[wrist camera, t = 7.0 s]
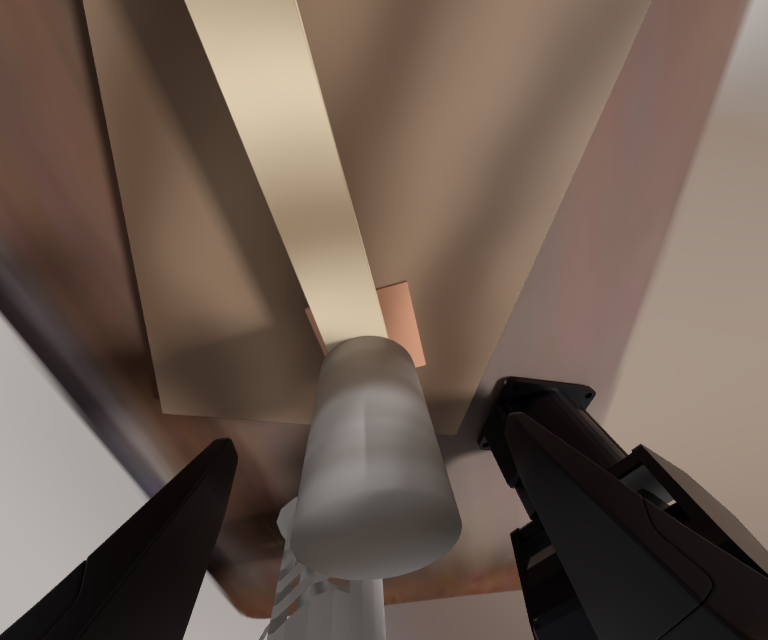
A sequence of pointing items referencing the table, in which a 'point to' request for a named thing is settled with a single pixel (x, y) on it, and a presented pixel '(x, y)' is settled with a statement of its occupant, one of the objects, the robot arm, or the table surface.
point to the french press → (322, 601)
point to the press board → (352, 184)
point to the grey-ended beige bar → (333, 313)
